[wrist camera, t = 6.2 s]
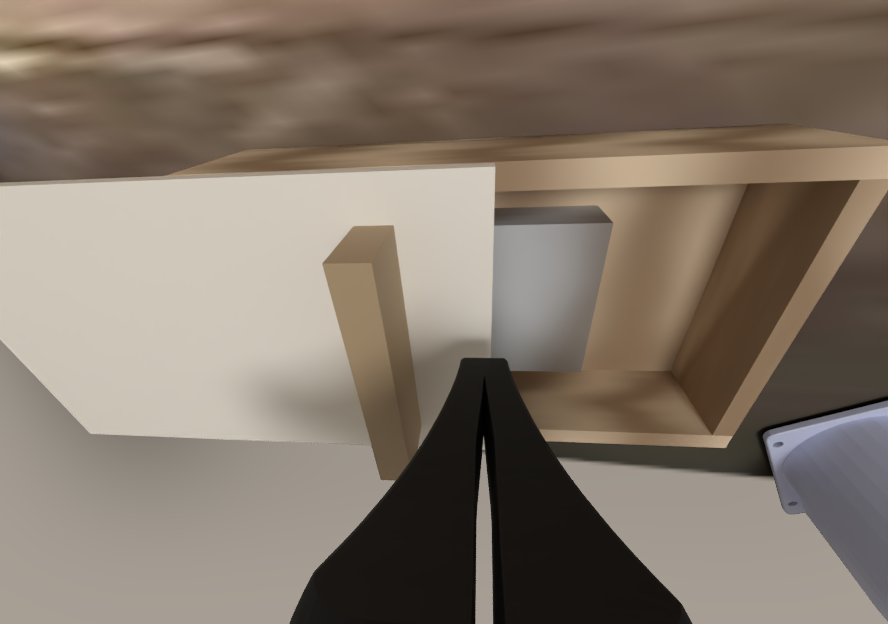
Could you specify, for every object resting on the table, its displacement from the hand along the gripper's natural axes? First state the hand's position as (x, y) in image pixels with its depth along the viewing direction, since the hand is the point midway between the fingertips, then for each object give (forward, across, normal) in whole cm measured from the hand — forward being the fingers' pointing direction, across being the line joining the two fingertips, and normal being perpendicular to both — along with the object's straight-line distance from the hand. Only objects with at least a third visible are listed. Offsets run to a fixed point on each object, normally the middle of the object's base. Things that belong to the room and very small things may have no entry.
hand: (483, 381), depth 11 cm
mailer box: (+7, 0, 0) cm, 7 cm away
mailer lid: (+2, +10, 0) cm, 10 cm away
